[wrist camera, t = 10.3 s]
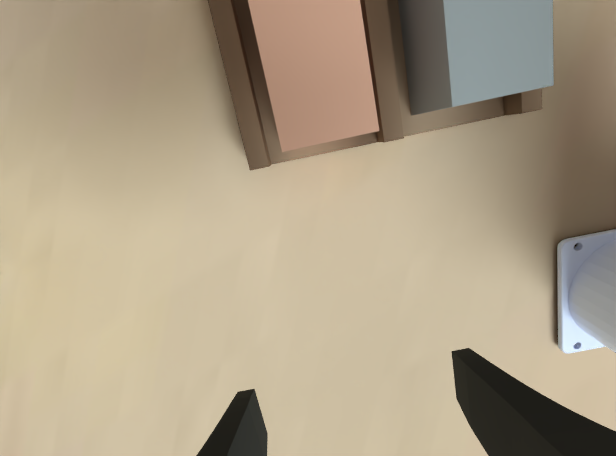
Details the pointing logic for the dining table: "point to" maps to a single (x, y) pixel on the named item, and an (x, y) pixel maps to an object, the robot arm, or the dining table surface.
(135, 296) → the dining table surface
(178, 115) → the dining table surface
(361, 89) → the plug block
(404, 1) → the slate block
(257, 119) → the comb rack
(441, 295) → the dining table surface
